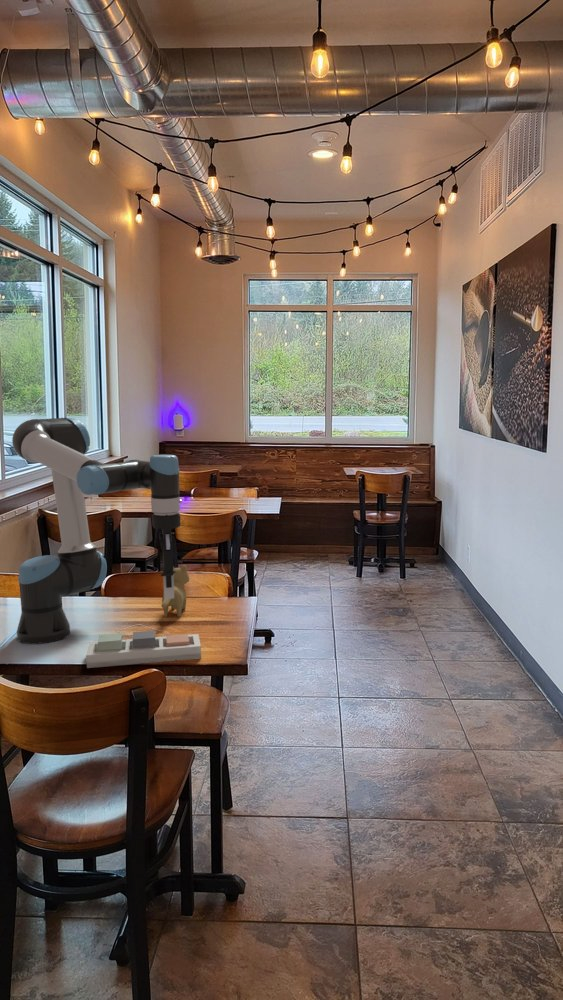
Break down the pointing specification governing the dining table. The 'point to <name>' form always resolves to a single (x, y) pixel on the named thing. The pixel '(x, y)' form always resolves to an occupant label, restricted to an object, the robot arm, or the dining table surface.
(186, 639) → the key terracotta
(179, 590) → the toy
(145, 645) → the key charcoal
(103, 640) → the key sage
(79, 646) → the dining table surface
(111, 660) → the keypad
